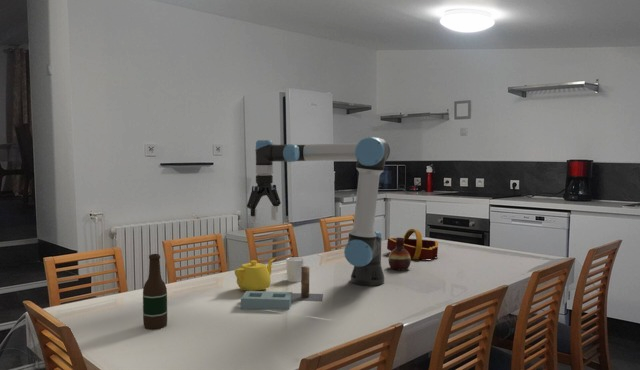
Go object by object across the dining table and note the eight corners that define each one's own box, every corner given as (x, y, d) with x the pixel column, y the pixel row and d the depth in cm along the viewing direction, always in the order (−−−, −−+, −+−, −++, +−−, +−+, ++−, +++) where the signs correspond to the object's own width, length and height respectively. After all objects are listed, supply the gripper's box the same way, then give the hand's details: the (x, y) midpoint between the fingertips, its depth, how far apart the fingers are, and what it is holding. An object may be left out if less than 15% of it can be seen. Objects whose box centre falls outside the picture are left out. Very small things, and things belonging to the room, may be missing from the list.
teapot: (283, 288, 215) (283, 260, 214) (244, 297, 202) (244, 267, 201) (265, 282, 225) (265, 254, 224) (226, 290, 212) (225, 261, 211)
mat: (323, 294, 207) (323, 293, 207) (322, 302, 197) (322, 301, 197) (289, 293, 208) (289, 293, 208) (286, 301, 198) (286, 300, 198)
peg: (310, 296, 203) (310, 266, 202) (307, 298, 200) (307, 268, 199) (303, 295, 205) (303, 266, 204) (299, 297, 202) (300, 267, 201)
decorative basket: (442, 265, 273) (447, 238, 272) (389, 257, 273) (393, 229, 272) (429, 253, 307) (433, 229, 306) (382, 246, 307) (386, 221, 306)
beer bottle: (146, 322, 172) (145, 252, 171) (169, 321, 173) (169, 252, 171) (140, 330, 164) (139, 257, 163) (164, 329, 165) (164, 257, 163)
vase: (385, 269, 252) (386, 239, 251) (391, 265, 262) (391, 235, 261) (407, 272, 248) (408, 240, 246) (412, 267, 258) (413, 237, 257)
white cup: (301, 283, 224) (301, 261, 223) (284, 282, 225) (284, 260, 225) (305, 279, 232) (305, 257, 231) (288, 278, 233) (288, 256, 232)
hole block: (292, 302, 197) (292, 292, 196) (289, 310, 187) (289, 299, 186) (246, 301, 197) (246, 290, 197) (240, 309, 188) (240, 298, 187)
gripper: (275, 173, 240) (275, 218, 241) (238, 175, 219) (238, 224, 221) (288, 173, 235) (288, 219, 237) (251, 176, 215) (251, 225, 216)
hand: (264, 221), depth 229 cm, fingers open, 13 cm apart
